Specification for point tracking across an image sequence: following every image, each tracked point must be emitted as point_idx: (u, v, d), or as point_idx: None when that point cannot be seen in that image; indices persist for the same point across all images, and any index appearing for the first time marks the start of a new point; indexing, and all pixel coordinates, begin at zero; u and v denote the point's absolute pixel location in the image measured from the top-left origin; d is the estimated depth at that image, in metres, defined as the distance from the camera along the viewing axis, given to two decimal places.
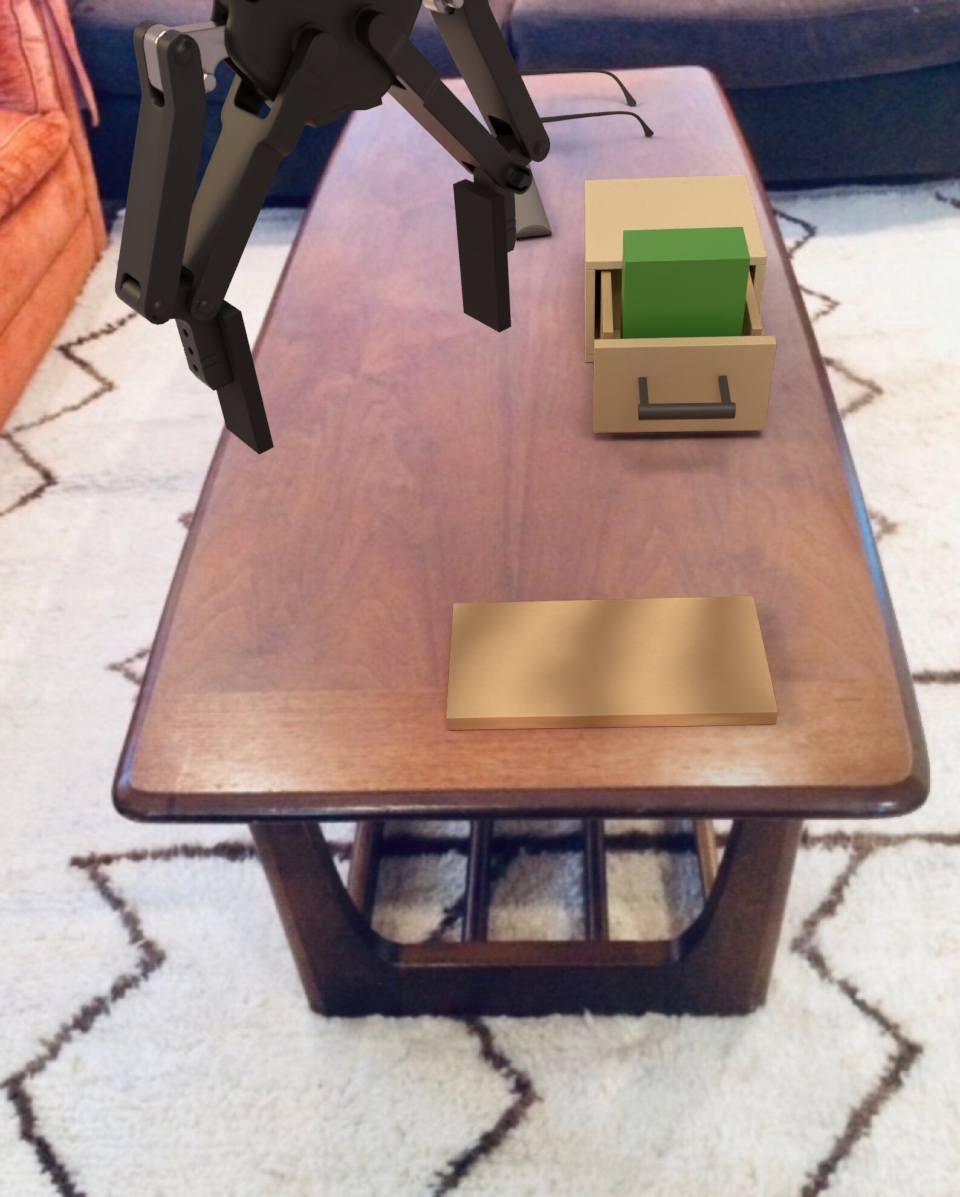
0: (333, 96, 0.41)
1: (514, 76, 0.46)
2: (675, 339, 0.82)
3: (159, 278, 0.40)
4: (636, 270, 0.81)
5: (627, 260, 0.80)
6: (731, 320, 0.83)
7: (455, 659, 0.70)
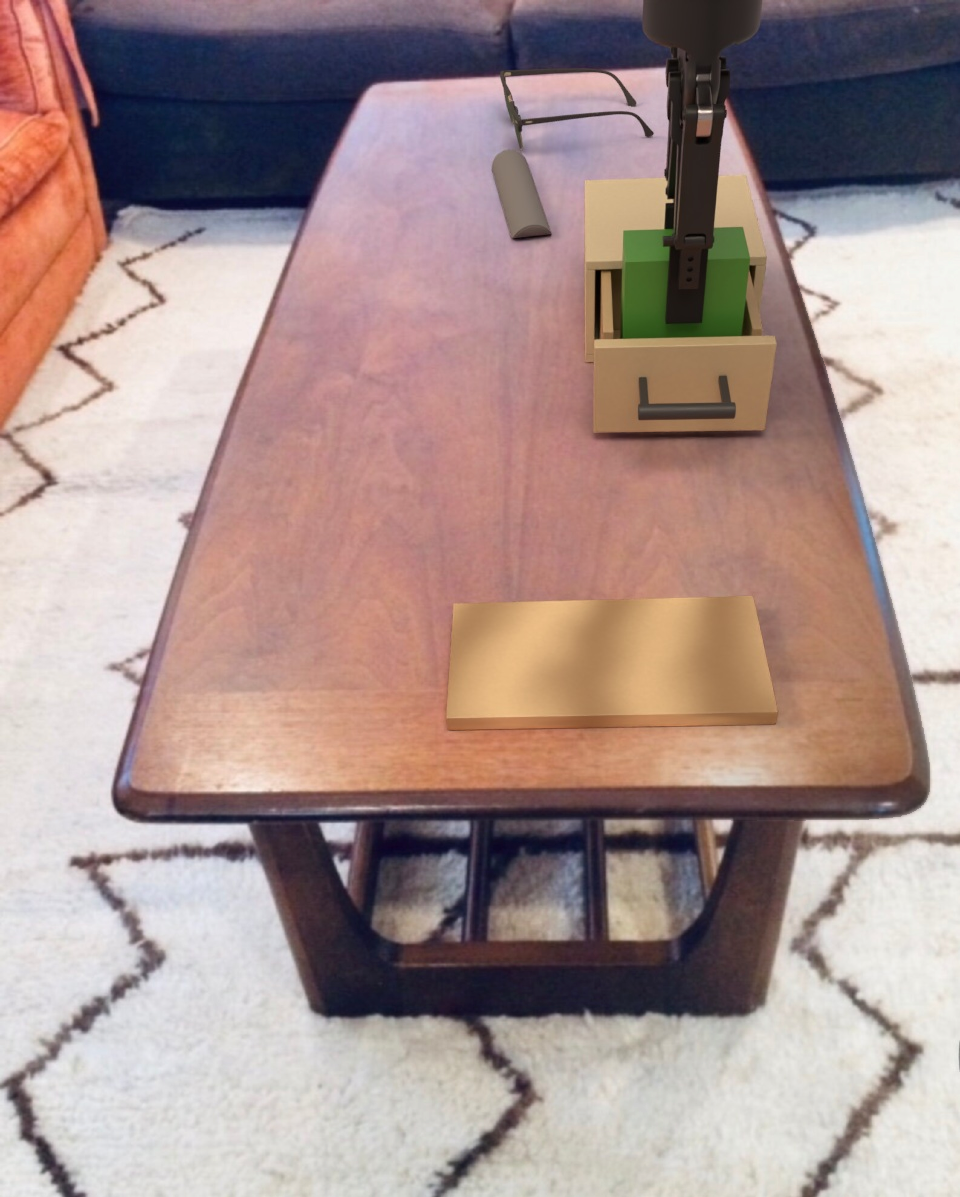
0: None
1: None
2: (675, 339, 0.82)
3: None
4: (636, 270, 0.81)
5: (627, 260, 0.80)
6: (731, 320, 0.83)
7: (455, 659, 0.70)
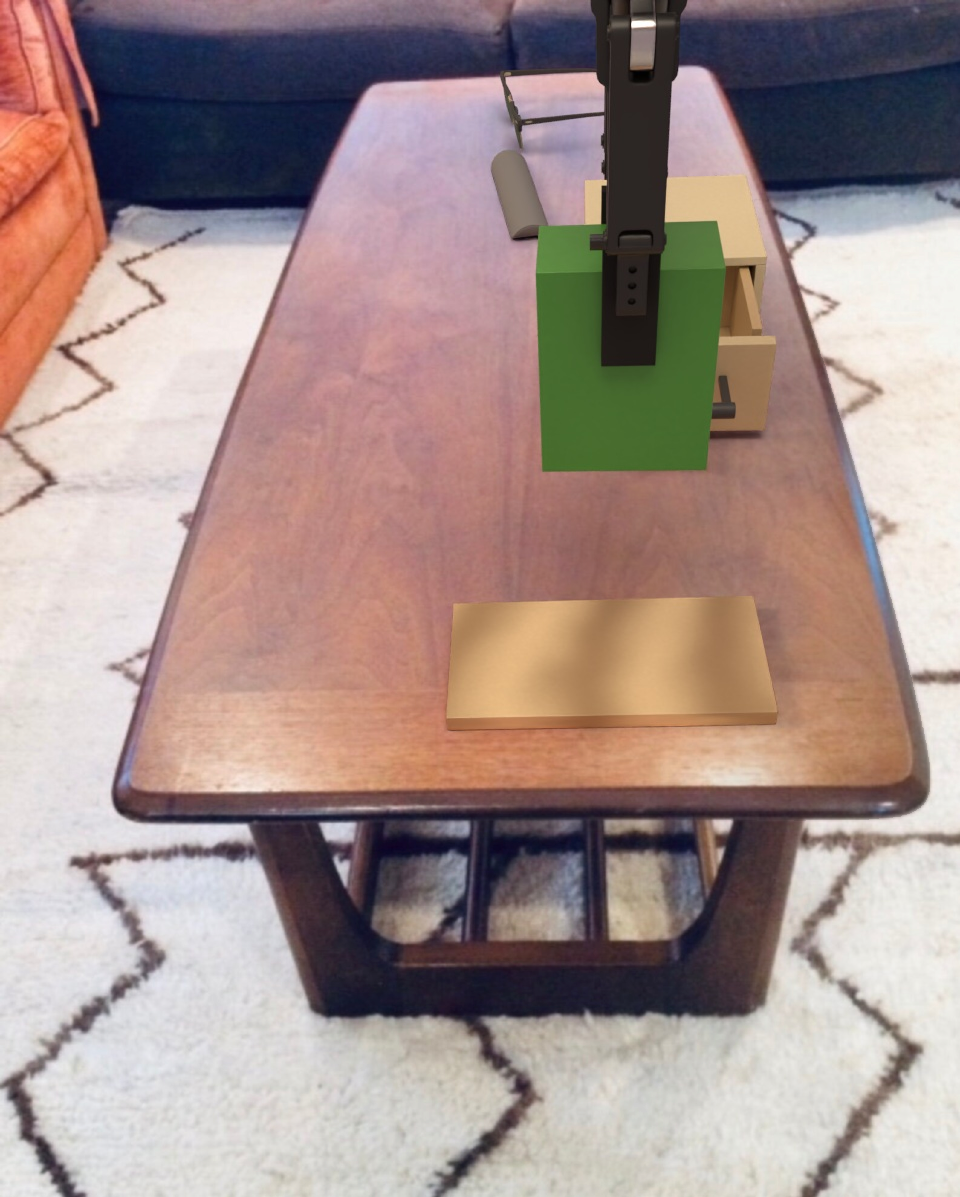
0: None
1: None
2: None
3: None
4: (552, 286, 0.53)
5: (539, 270, 0.53)
6: (700, 361, 0.55)
7: (455, 659, 0.70)
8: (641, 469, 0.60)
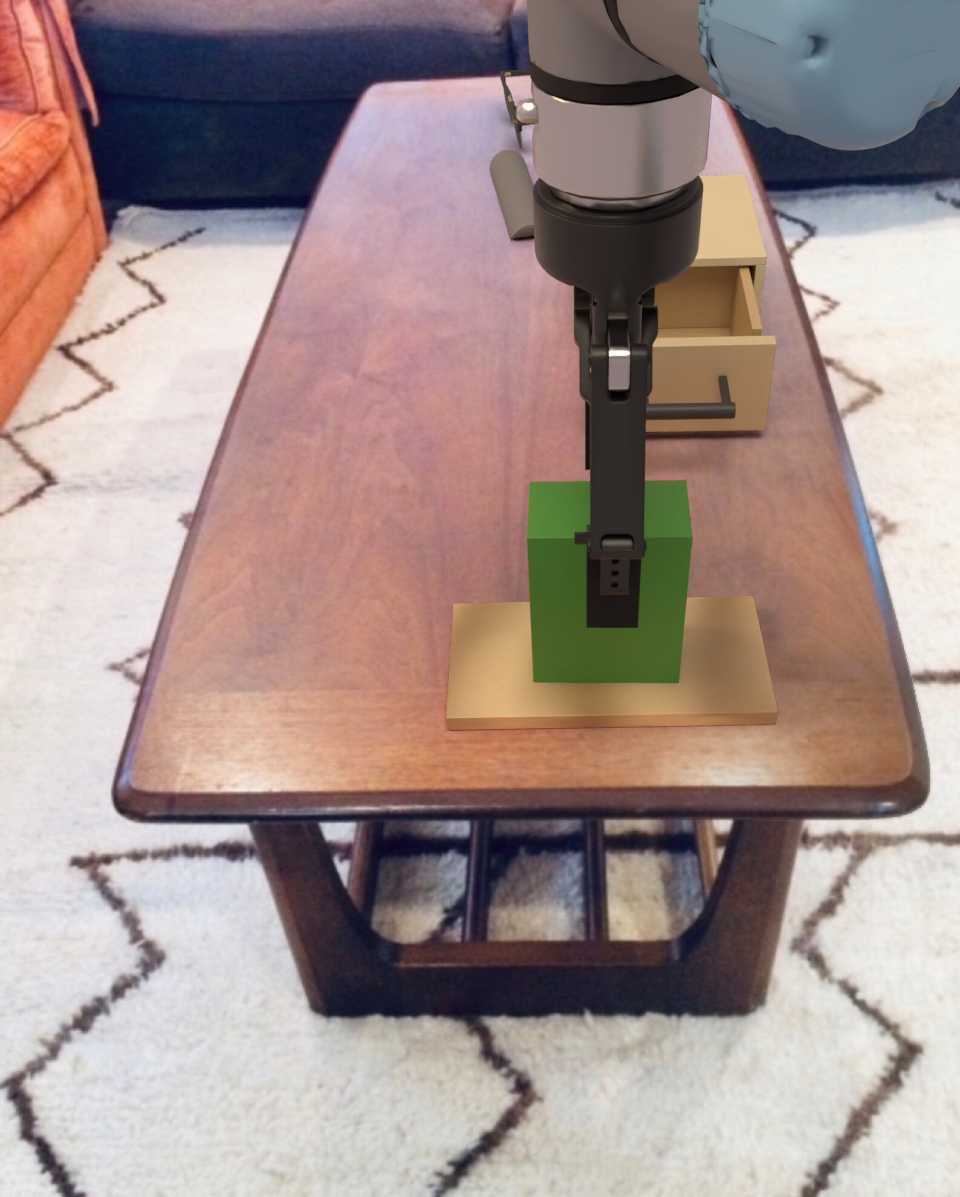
0: None
1: None
2: (675, 339, 0.82)
3: None
4: (542, 547, 0.61)
5: (529, 535, 0.60)
6: (671, 603, 0.63)
7: (455, 659, 0.70)
8: (621, 681, 0.68)
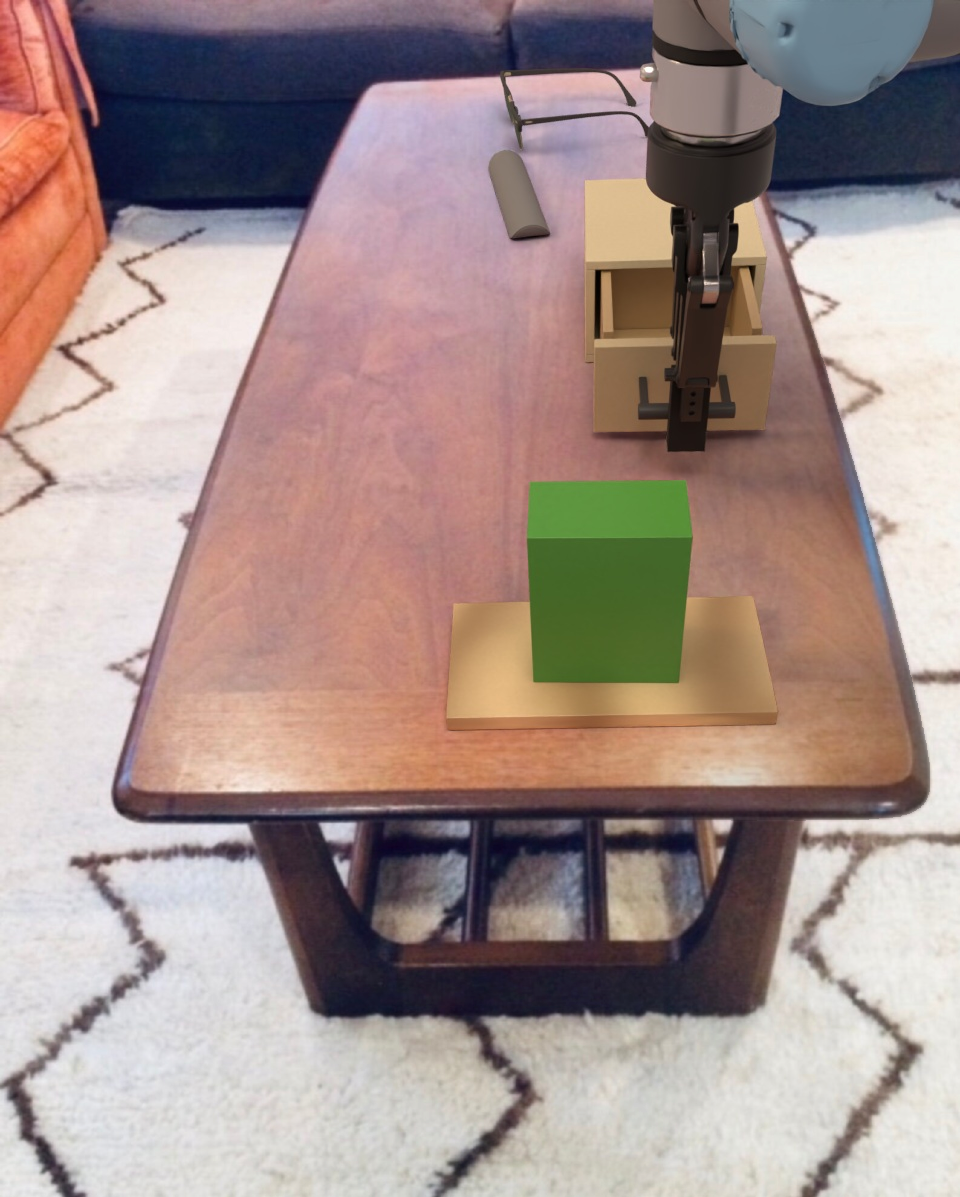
0: None
1: None
2: None
3: None
4: (542, 547, 0.61)
5: (529, 535, 0.60)
6: (671, 603, 0.63)
7: (455, 659, 0.70)
8: (621, 681, 0.68)
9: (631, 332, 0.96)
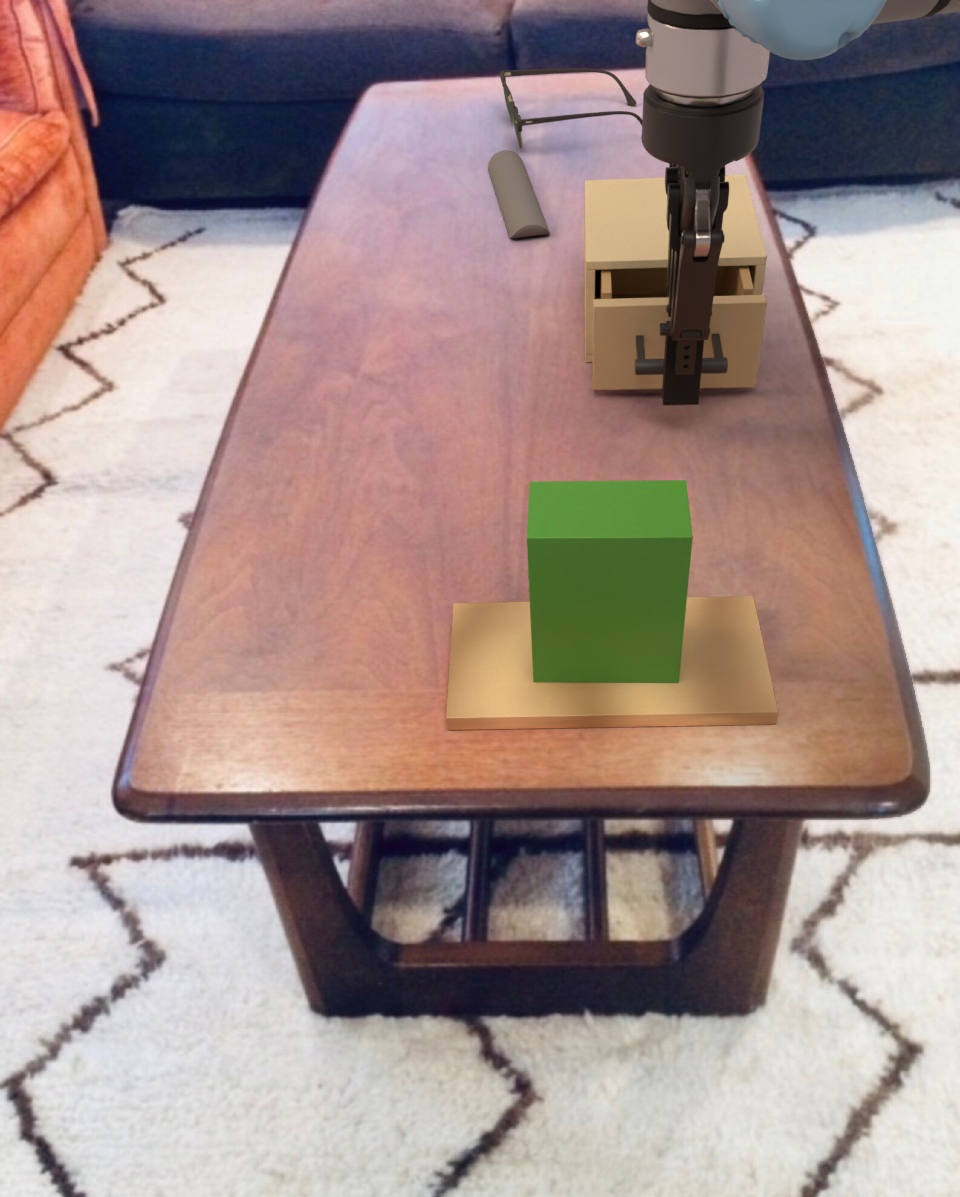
0: None
1: None
2: None
3: None
4: (542, 547, 0.61)
5: (529, 535, 0.60)
6: (671, 603, 0.63)
7: (455, 659, 0.70)
8: (621, 681, 0.68)
9: (629, 298, 1.00)
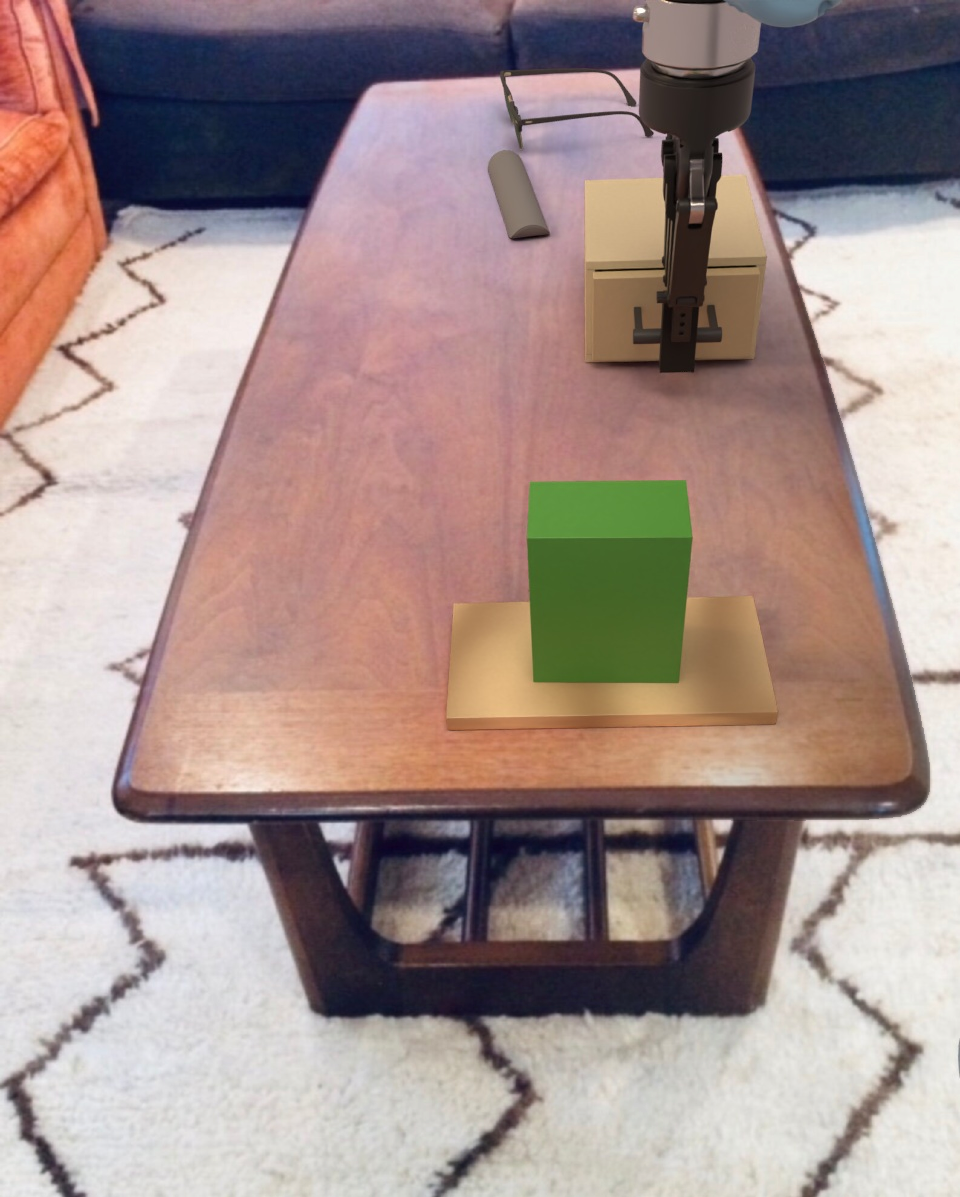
0: None
1: None
2: None
3: None
4: (542, 547, 0.61)
5: (529, 535, 0.60)
6: (671, 603, 0.63)
7: (455, 659, 0.70)
8: (621, 681, 0.68)
9: None
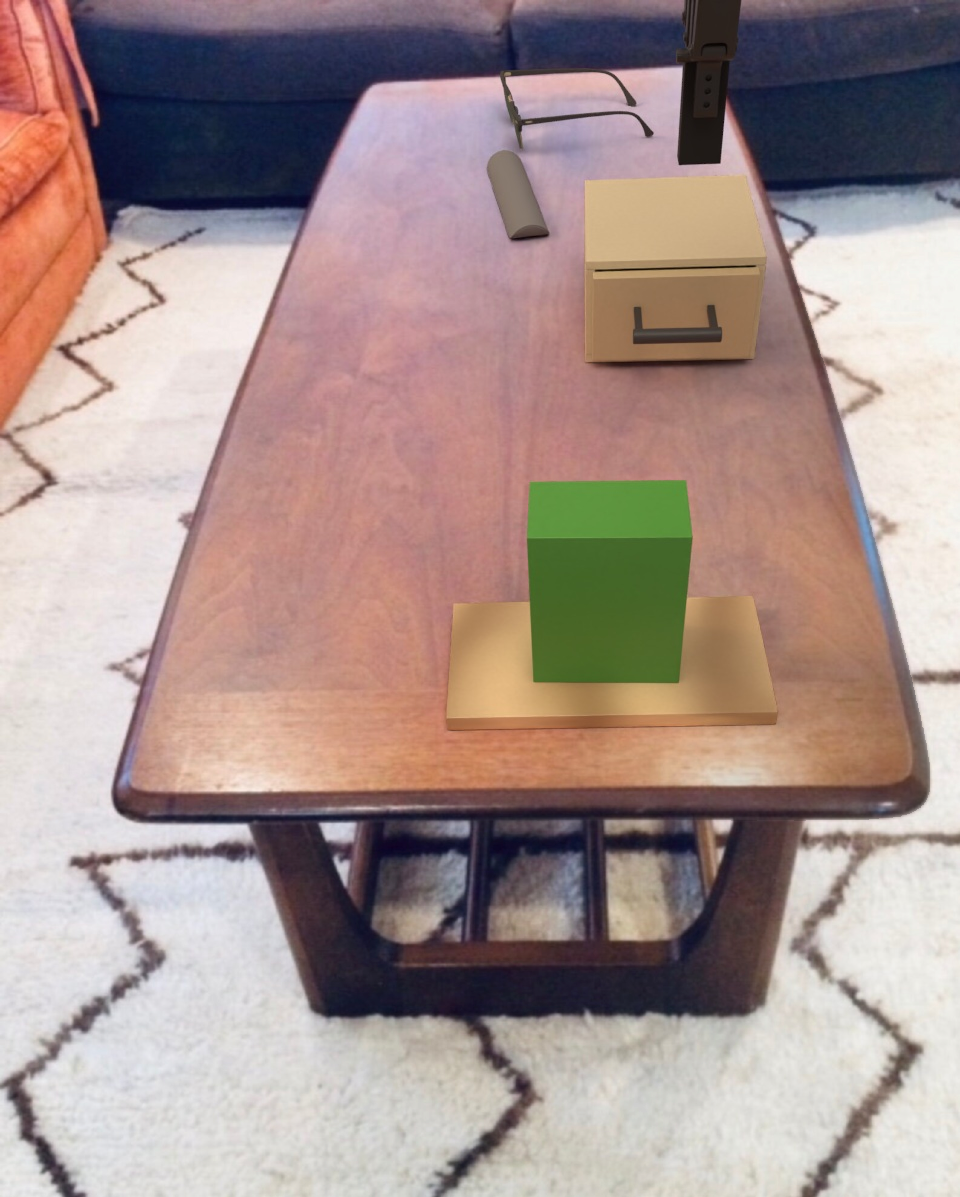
0: None
1: None
2: (667, 271, 0.89)
3: None
4: (542, 547, 0.61)
5: (529, 535, 0.60)
6: (671, 603, 0.63)
7: (455, 659, 0.70)
8: (621, 681, 0.68)
9: None
